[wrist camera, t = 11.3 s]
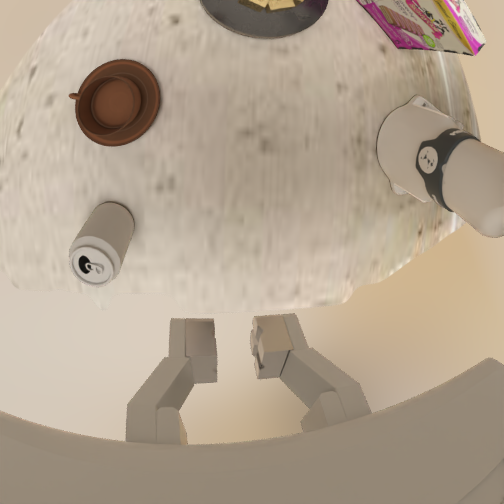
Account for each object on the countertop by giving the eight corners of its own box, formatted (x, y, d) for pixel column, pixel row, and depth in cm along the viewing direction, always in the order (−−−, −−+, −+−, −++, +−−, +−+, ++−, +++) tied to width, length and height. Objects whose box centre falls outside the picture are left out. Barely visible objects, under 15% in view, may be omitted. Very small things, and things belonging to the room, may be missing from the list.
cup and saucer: (82, 146, 31) (64, 159, 26) (82, 67, 24) (62, 66, 19) (160, 141, 33) (152, 152, 28) (165, 57, 27) (157, 52, 22)
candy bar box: (351, -2, 23) (425, -23, 10) (369, -14, 22) (442, -34, 8) (397, 51, 29) (476, 58, 16) (412, 37, 27) (489, 42, 14)
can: (93, 196, 36) (61, 239, 26) (137, 204, 38) (118, 249, 28) (92, 237, 39) (67, 286, 30) (133, 245, 42) (118, 296, 32)
